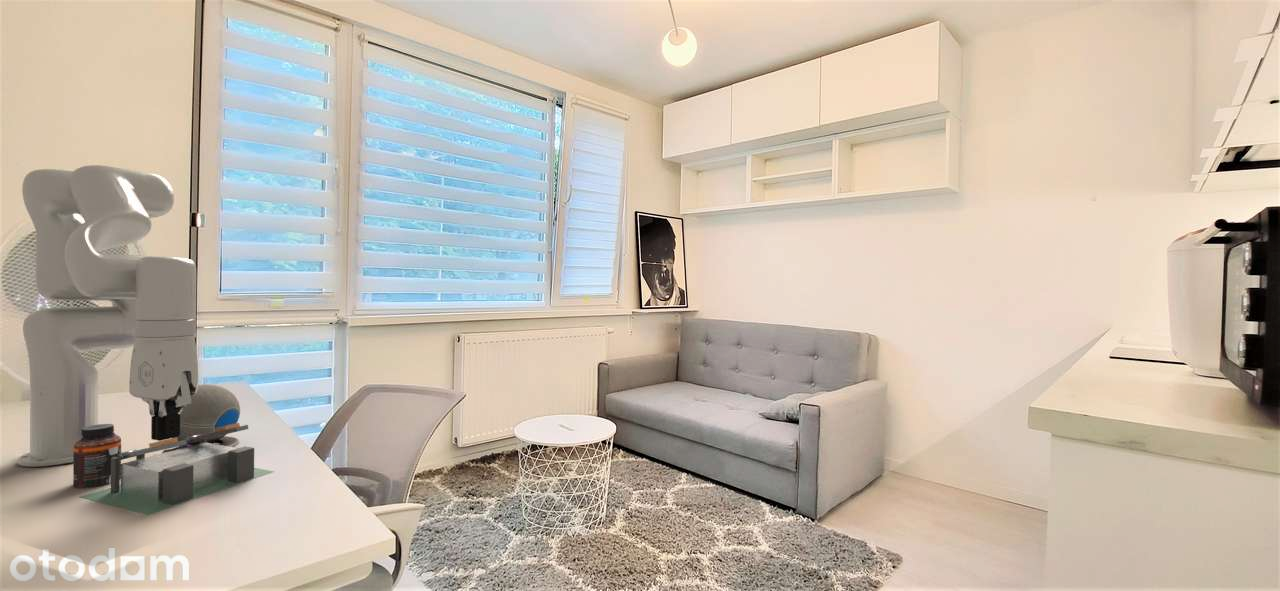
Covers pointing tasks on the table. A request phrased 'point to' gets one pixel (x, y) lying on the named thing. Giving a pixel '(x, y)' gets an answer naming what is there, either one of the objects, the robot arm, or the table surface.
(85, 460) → the supplement bottle
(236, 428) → the strap
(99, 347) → the robot arm
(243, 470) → the board
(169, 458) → the plate
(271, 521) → the table surface
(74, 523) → the table surface
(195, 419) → the grey egg-shaped pod
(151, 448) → the strap
